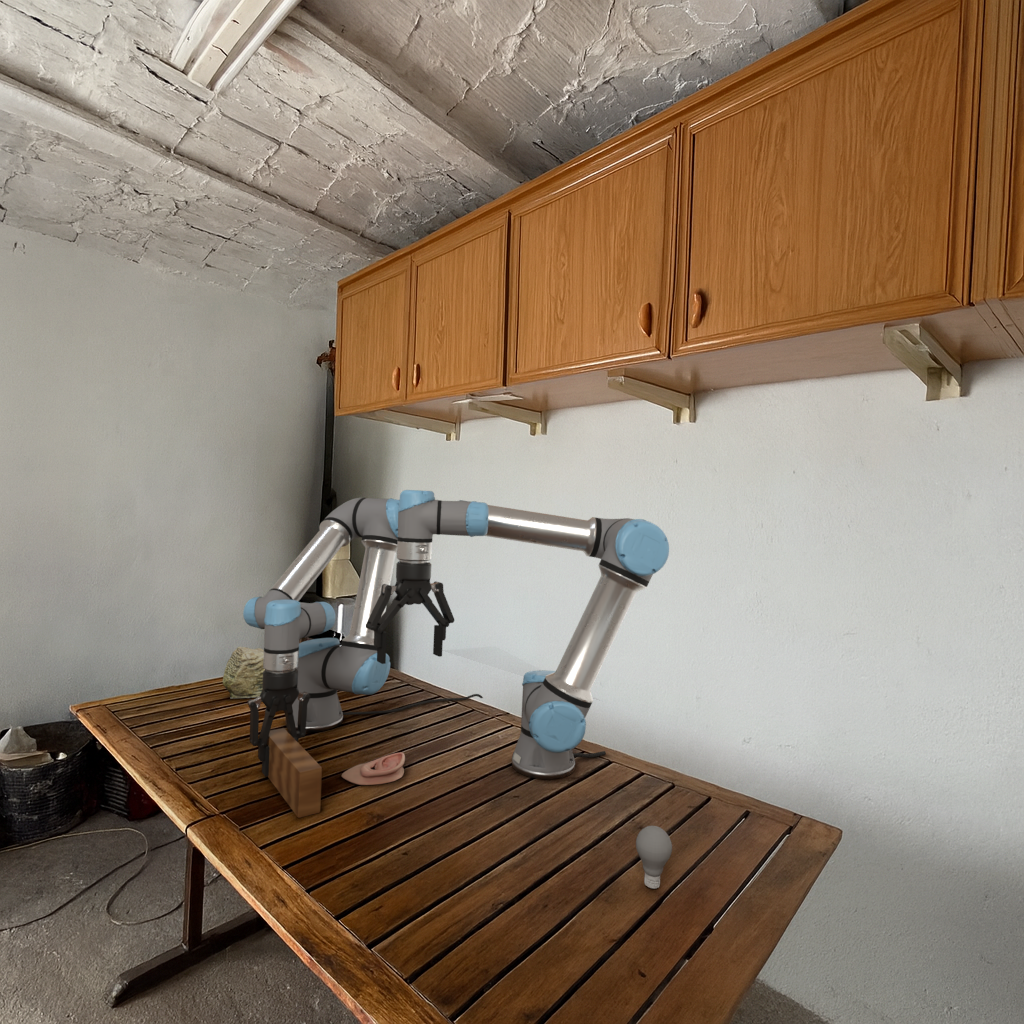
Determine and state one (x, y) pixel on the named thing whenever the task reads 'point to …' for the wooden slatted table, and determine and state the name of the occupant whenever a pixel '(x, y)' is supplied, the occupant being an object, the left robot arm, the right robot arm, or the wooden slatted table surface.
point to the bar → (294, 773)
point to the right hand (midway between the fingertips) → (410, 658)
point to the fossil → (244, 673)
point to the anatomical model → (377, 770)
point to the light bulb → (653, 853)
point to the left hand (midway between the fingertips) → (276, 771)
